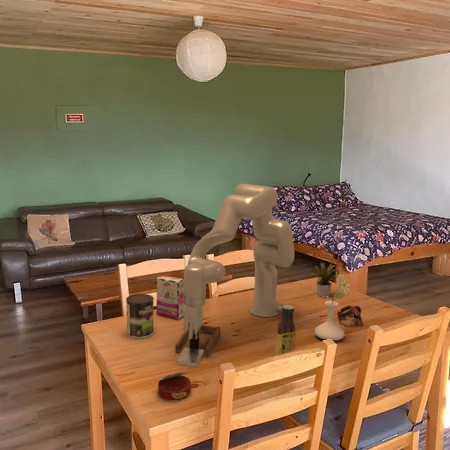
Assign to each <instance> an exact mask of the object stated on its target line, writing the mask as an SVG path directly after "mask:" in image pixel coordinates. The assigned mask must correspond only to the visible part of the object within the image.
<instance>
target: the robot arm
mask: <svg viewBox="0 0 450 450" xmlns="http://www.w3.org/2000/svg"><path fill="white" fill-rule="evenodd" d="M277 202H278V192H277V190H276V189H275V188H274V187H271V186H267V185H258V184H251V183H240V184H238V185H236V186H235V190H234V194H229V195H227V196H226V197H225V198H224V200H223V201H222V204H221V206H220V209H219V212H218V214H217V217H216V219H215V221H214V224H213V226H212V227H213V228H212V229H211V230H210V231H209V232H208V233H206V234H205V235H204V236H203V237H202V238H201V239H200V240H198V241H197V242H196V243H195V245H194V246H193V248H192V250H191V253H190V255H189V258H188V260H187V265H185V267H184V270H183V279H184V317H183V333H187V331H188V330H189V337H188V339H189V343H188V344H189V347H188V348H193V349H200V333H199V332H200V328H201V327H202V325H204V306H206V300H207V299H206V297H207V296H206V291H207V290H206V289H207V288H206V286H207V285H209V284H214V283H218V282H220V281H221V280H223V278H224V277H225V275H226V267H225V265H224V264H223V263H221V262H219V261H217V260H216V261H215V260H212V259H210V258H209V259H208V258H205V257H206V255H207V253H208V252H209V251H210V250H212V248H214V247H216V246H218V245H221V244H224V243H227V242H230V241H232V240H234V239H235V236H236V234H237V231H238V228H239V226H240V224H241V220H242V219H244V220H249V221H251V223H252V229H253V233H254V237H255V238H256V239H257V240H258V241H257V242H256V243H255V244H254V246H253V250H252V251H253V260H254V290H253V291H254V294H253V305H251V306H250V308H249V311H250V313H251V314H252V315H254V316H257V317H262V318H272V317H275V316H277V315H279V313H280V311H282V306H283V305H284V304H279V303H278V300H277V287H278V286H277V285H278V270H277V267H280V268H281V267H282V268H288V267H290V266H291V265H293V262H294V260H295V245H294V237H293V231H292V230H293V229H292V225H290V223H289V222H288V221H285V220H281V219H276V218H274V215H273V208H274V207H275V205H276V204H277ZM276 266H277V267H276Z"/></svg>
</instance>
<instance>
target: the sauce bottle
mask: <svg viewBox="0 0 450 450" xmlns="http://www.w3.org/2000/svg"><path fill="white" fill-rule="evenodd" d="M282 305H283V306H282V310H281V311H282V313H281V314H282V315H281V319H280V320H279V321H278V324H277V331H276V340H275V342H276V343H275V349H274V350H275V352H274V355H275V356H276V355H281V354H284V353H288V352H292V351H294V352H295V342H296V341H295V340H296V326H295V323H294V313H295V307H294V306H293V305H290V304H282Z"/></svg>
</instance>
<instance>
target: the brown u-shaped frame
mask: <svg viewBox="0 0 450 450" xmlns="http://www.w3.org/2000/svg"><path fill="white" fill-rule="evenodd" d="M199 334H204V335H205V334H206V335H212V336H211V339H210V341H209V342H208V344H207V346H206V348H205V357H206V358H209V357H210V355H211V353H212V351H213V349H214V347H215V346H216V345H215V344H216V343H217V341H218V339H219V337H220V336H221V326H215V325H209V324H208V325H207V324H206V325H205V324H203V325H202V327H201V328H200V332H199ZM188 339H189V330H188V331H187V333H184V332H183V334H182V335H181V337H180V338H179V340H178V341H177V343H176V344H175V346H174V347H175V354H179V353H180V351H181V350H182V348H183V346H184V345H185V344H186V342H187V340H188Z"/></svg>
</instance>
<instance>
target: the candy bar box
mask: <svg viewBox="0 0 450 450" xmlns="http://www.w3.org/2000/svg"><path fill="white" fill-rule="evenodd" d="M155 280H156V315H157V316H161V317H165V318H168V319H169V318H170V319H174V320H176V321H177V320H181V319H182V318H184V313H185V305H184V278H179V277H175V276H169V275H163V274H162V275H160V276H159V277H158V276H157V278H156V279H155Z"/></svg>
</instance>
